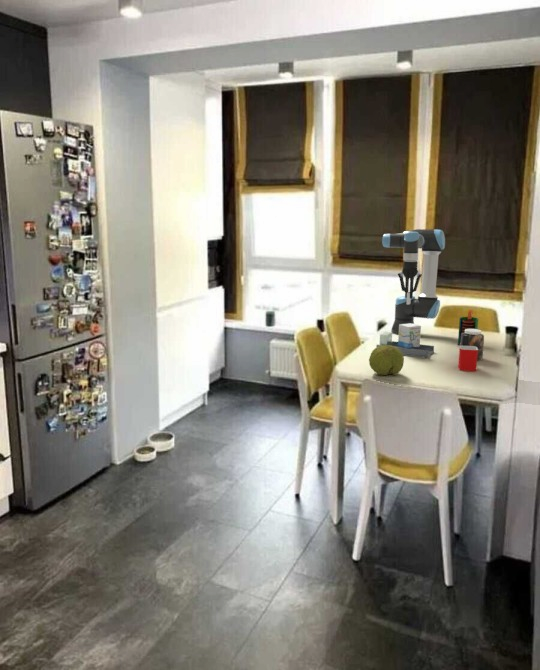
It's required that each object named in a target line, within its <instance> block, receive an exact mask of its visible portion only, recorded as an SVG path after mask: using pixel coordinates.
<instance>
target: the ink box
mask: <svg viewBox="0 0 540 670" xmlns="http://www.w3.org/2000/svg"><path fill="white" fill-rule="evenodd" d="M421 329H422V326H421V325H419V324H416V323H414V324H411V323H409V324H400V325H399V334H398V337H397V338H398V339H397V342H398V345H400V346H403V347H406V348H412V347H420V344H421V333H422V332H421Z"/></svg>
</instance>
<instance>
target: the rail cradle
mask: <svg viewBox="0 0 540 670" xmlns="http://www.w3.org/2000/svg"><path fill="white" fill-rule="evenodd" d="M383 345H390V346H394V347H397V348H398V349H400V350H401V352H402V354H403V356H407V357H408V356H410V357H417V358H423V359H428V358H429V357H430V356H431V355H433V354H434V352H435V346H434V345H429V344H421V343H420V347H412V348H406V347H403V346H400V345H398V341H395V340H394V341H393V333H392V332H391V331H384V332H382V333H380V334H379V344H376V345H375V346H376V347H375V348H377V347H379V346H383Z"/></svg>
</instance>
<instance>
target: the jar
mask: <svg viewBox="0 0 540 670" xmlns="http://www.w3.org/2000/svg"><path fill="white" fill-rule="evenodd" d="M484 345H485V335H484V334H483V333H482V330H481V329H465V332H464V333H462V334H461V341H460V344H459V346H475V347H477V348H478V353H477V362H479V361H482V360H483V356H484Z"/></svg>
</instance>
